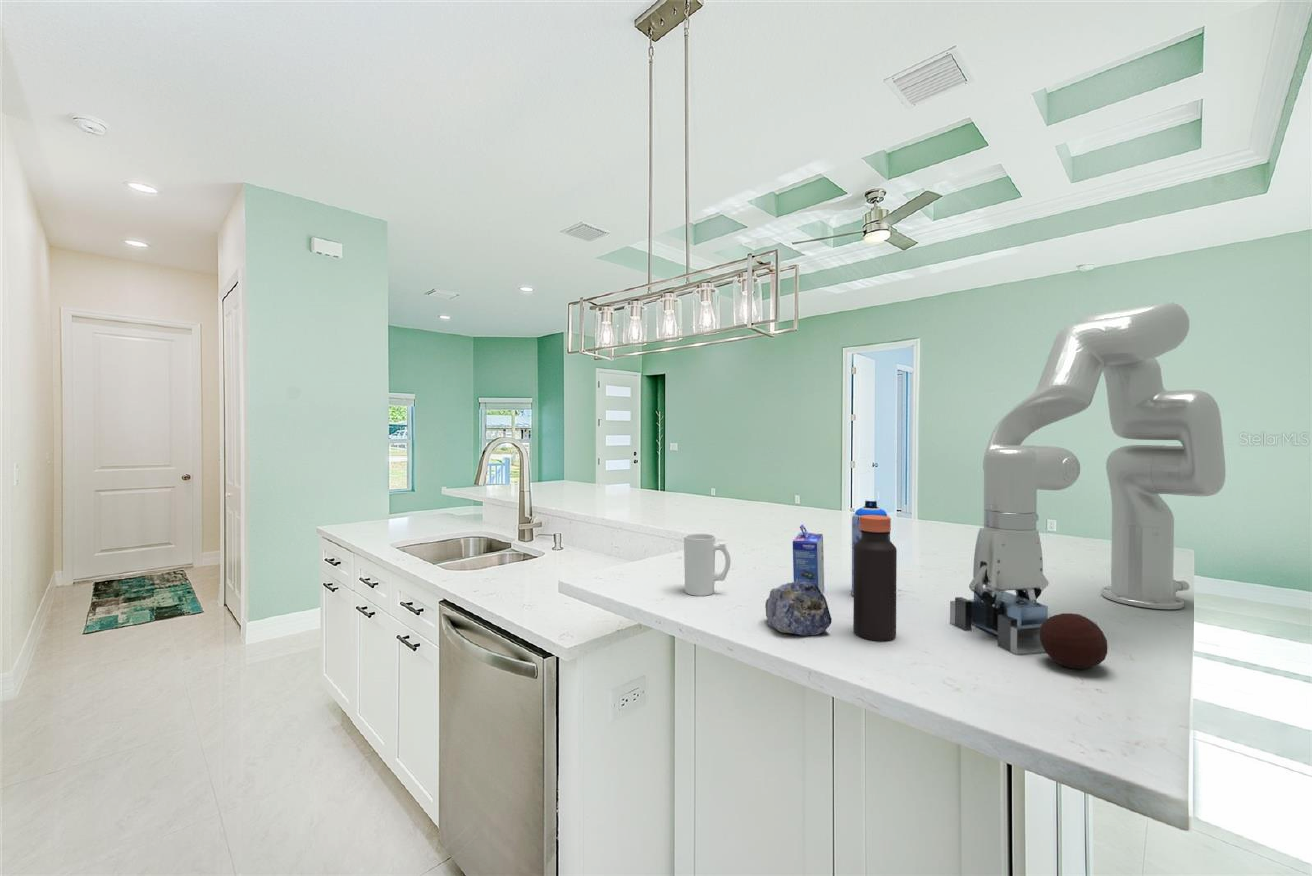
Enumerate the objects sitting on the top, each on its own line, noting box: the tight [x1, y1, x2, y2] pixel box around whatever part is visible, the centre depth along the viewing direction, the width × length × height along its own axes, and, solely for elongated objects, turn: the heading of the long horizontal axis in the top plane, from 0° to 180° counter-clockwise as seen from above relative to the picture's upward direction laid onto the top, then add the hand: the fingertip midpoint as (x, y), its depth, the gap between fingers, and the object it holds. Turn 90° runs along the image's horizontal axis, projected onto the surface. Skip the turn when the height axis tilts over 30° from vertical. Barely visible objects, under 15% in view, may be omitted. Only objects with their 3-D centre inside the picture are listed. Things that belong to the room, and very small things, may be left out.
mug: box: [683, 533, 732, 597], centre depth 119 cm, size 10×7×12 cm, turn 72°
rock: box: [764, 581, 833, 637], centre depth 98 cm, size 11×10×10 cm
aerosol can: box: [850, 500, 891, 598], centre depth 116 cm, size 8×8×20 cm
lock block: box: [973, 591, 1049, 636], centre depth 94 cm, size 5×10×6 cm, turn 11°
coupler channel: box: [949, 596, 1098, 656], centre depth 94 cm, size 15×14×5 cm
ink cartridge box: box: [792, 523, 825, 594], centre depth 118 cm, size 10×6×14 cm, turn 157°
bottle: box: [852, 515, 898, 642], centre depth 94 cm, size 7×7×20 cm
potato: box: [1039, 612, 1109, 670], centre depth 81 cm, size 8×9×8 cm
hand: (1008, 627), depth 94 cm, fingers closed on lock block, 5 cm apart
